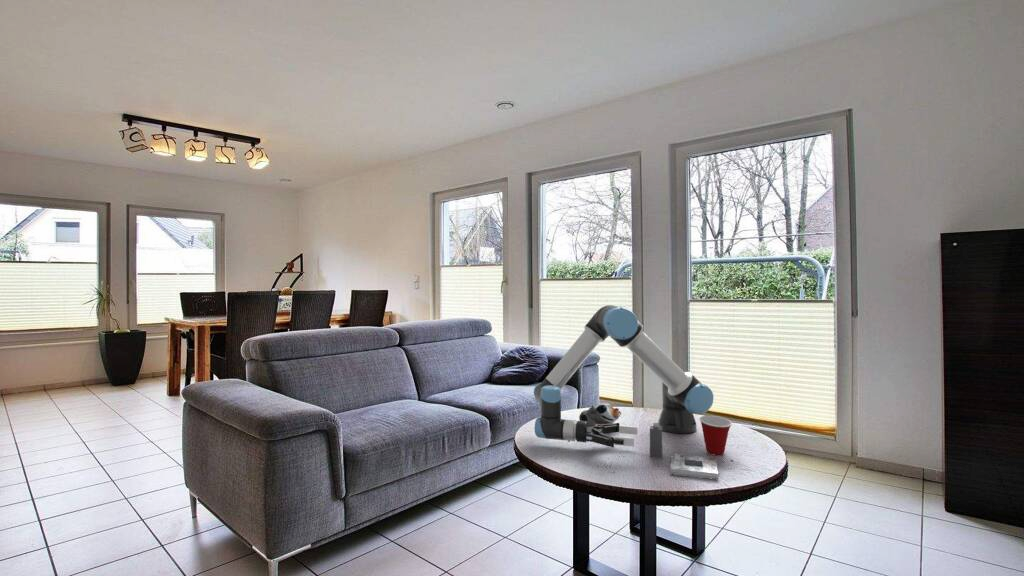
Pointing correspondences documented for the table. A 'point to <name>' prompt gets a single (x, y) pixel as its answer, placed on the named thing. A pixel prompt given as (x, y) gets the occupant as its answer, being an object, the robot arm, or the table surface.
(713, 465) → the socket
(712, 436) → the plastic cup
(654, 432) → the plug
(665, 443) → the table surface
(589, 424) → the lucky cat figurine
